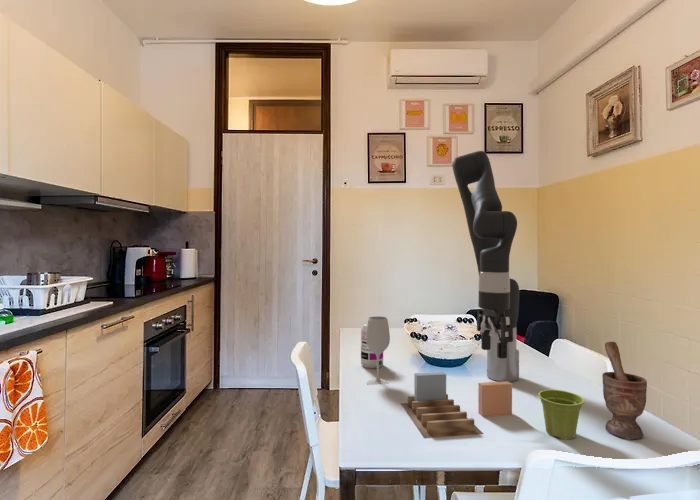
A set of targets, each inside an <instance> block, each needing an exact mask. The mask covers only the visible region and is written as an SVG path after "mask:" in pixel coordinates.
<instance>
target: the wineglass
mask: <svg viewBox="0 0 700 500" xmlns="http://www.w3.org/2000/svg"><path fill="white" fill-rule="evenodd" d="M367 323H368V324H367V331H366V343H367V346H368V347H369V348H370V350H371V351H372V352H374V353H375V354H376V357H377V368H376V377H375V379H370V380H368V381H366V385H367V386H375V385H377V386H378V385H389V384H390V382H389V381H388V380H386V379H385V380H384V379H382V378H381V377H380V367H379V356H380V354H381V353H382V352H383V353H384V352H385V351H386V350H387V348H388V347H389V346H390V340H391V337H390V336H391V335H390V327H389V326H390V325H389V321H388V317H386V316H369V317H368V319H367Z"/></svg>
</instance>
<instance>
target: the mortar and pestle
mask: <svg viewBox="0 0 700 500" xmlns="http://www.w3.org/2000/svg"><path fill="white" fill-rule="evenodd" d="M604 348H605V352H606V355H607V357H608V359H609V361H610V365H611V368H612V370H613V371H605V372H603V373H602V375H601V376H602V393H603V394H602V395H603V400H604V403H605V407H606V408H607V410H608V411H609V412H610V413H611V414H612V418H610V419H609V420H607V421H606V424H605V431H607V432H608V433H610V434H612V435H615V436H616V437H619V438H622V439H625V440H628V441H629V440H637V439H642V438H644V433H643V430H642V428H641V426H640V425H639V424H638V422H637V421H636V420H637V418H638V417H640V416H641V415H643V413H644V411H645V407H646V404H647V392H648V391H647V390H648V389H647V388H648V382H647V381H648V380H647V379H645V378H644V377H642V376H639V375H636V374H631V373H626V372H625V370H624V368H623V364H622V363H623V362H622V359H621V354H620V349H619V346H618V344H617V343H616V342H615V341H608V342H607V341H606V342H605V343H604Z"/></svg>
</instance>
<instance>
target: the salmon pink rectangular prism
mask: <svg viewBox="0 0 700 500" xmlns="http://www.w3.org/2000/svg"><path fill="white" fill-rule="evenodd" d="M477 386H478V391H477V392H478V395H477V396H478V397H477V398H478V400H477V401H478V406H477V407H478V408H477V409H478V412H477V413H478V415H479V416H481V417H496V416H510V415H513V383H511V381H505V382H504V381H491V382H478V385H477Z"/></svg>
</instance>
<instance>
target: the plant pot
mask: <svg viewBox="0 0 700 500" xmlns="http://www.w3.org/2000/svg"><path fill="white" fill-rule="evenodd" d="M538 397H539V398H540V403H541V404H542V410H543V411H542V412H543V419H544V427H545V431H546V433H547V434H548V435H550V436H552V437H557V438H559V439H561V440H572V439H574V438H575V437H576V434H577V429H578V428H577V427H578V422H579V416H580V410H581V409H582V405H583V404H584V403H585V399H584V398H583V397H582V396H581V395H579V394H576V393H574V392H570V391H566V390H560V389H544V390H540V391H539V392H538Z"/></svg>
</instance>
